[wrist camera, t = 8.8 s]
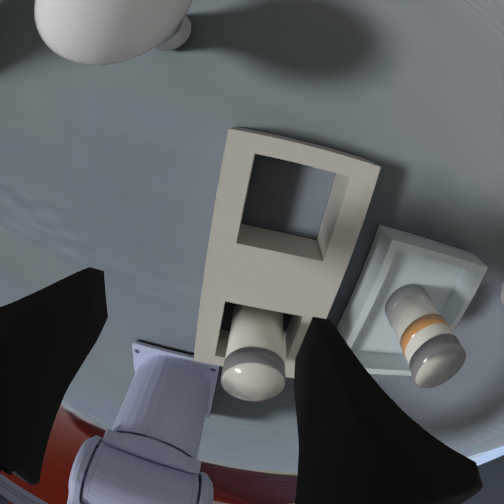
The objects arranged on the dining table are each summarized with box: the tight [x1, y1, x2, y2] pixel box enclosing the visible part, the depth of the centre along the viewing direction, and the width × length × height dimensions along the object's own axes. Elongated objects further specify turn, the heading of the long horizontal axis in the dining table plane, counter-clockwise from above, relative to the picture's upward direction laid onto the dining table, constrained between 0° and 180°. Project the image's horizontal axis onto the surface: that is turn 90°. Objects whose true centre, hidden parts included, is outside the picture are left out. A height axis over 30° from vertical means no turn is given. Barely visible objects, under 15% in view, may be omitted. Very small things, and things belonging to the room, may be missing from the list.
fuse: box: [221, 303, 286, 401], centre depth 19 cm, size 4×4×7 cm
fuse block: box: [194, 126, 381, 378], centre depth 19 cm, size 16×8×3 cm, turn 169°
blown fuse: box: [385, 284, 466, 388], centre depth 18 cm, size 4×4×7 cm
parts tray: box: [337, 225, 488, 376], centre depth 20 cm, size 11×9×2 cm
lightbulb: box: [34, 0, 192, 65], centre depth 9 cm, size 6×6×11 cm
